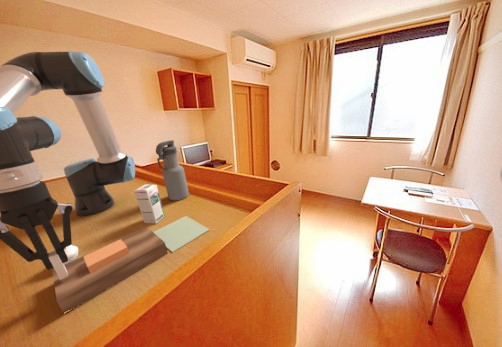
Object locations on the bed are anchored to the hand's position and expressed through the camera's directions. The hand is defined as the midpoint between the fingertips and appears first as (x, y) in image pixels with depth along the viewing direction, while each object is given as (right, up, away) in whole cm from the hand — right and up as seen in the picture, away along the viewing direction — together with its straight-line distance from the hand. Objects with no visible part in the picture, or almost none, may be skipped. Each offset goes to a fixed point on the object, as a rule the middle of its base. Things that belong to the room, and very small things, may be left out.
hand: (63, 275), depth 48 cm
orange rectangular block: (+6, +1, +6) cm, 9 cm away
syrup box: (+7, +6, +32) cm, 33 cm away
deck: (+7, -2, +8) cm, 11 cm away
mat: (+21, +4, +22) cm, 30 cm away
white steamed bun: (-9, -3, +12) cm, 15 cm away
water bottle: (+9, +13, +51) cm, 54 cm away
